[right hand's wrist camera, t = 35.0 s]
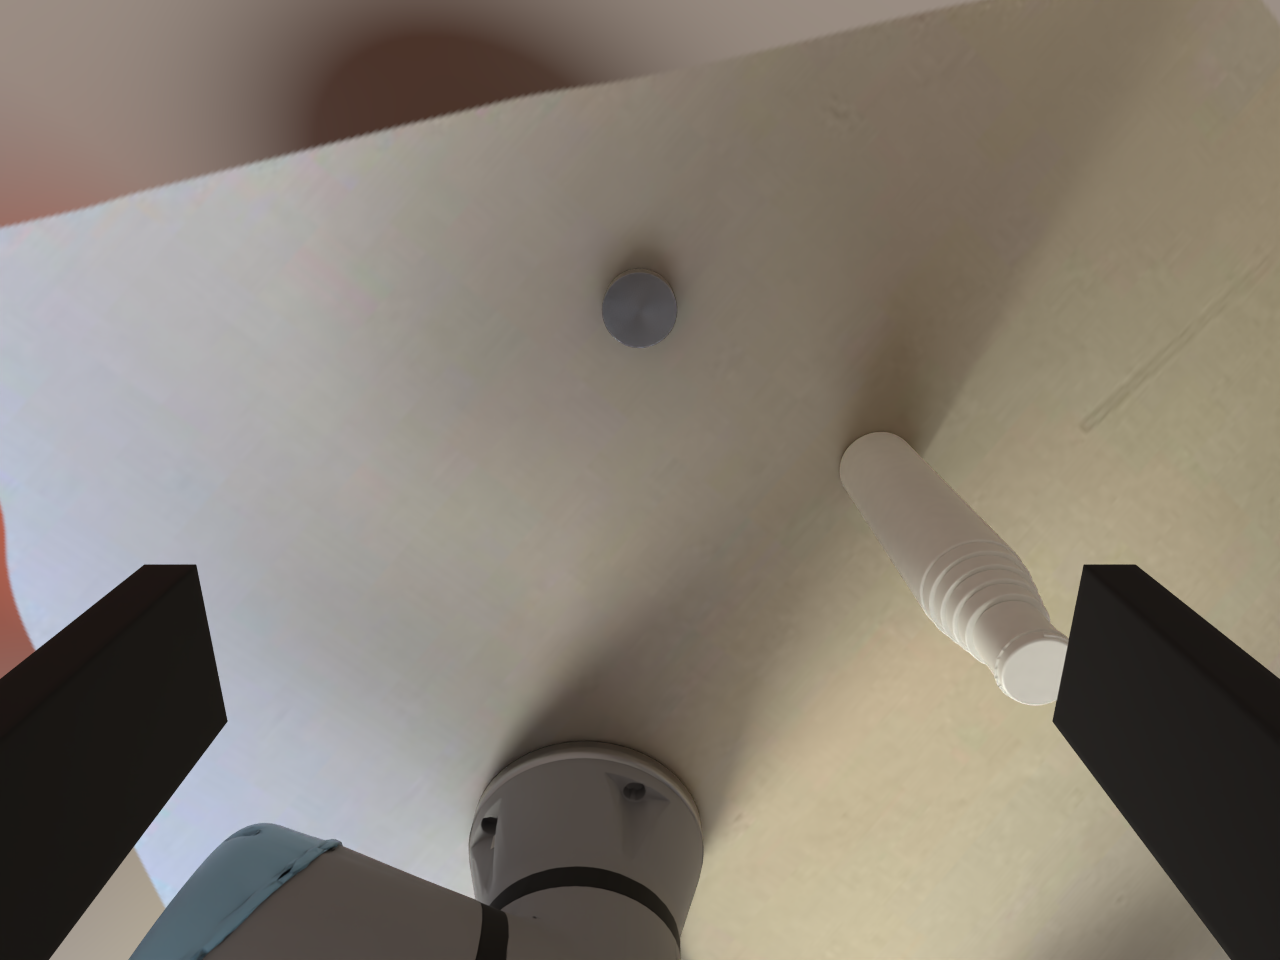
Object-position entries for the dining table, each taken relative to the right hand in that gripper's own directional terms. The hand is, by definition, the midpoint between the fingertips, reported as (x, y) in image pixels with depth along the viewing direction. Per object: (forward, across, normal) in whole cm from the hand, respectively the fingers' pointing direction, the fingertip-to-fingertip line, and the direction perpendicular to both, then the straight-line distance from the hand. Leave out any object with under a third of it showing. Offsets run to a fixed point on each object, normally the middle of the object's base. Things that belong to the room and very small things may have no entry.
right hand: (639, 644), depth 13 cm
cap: (+32, 0, 0) cm, 32 cm away
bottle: (+34, +13, -9) cm, 38 cm away
